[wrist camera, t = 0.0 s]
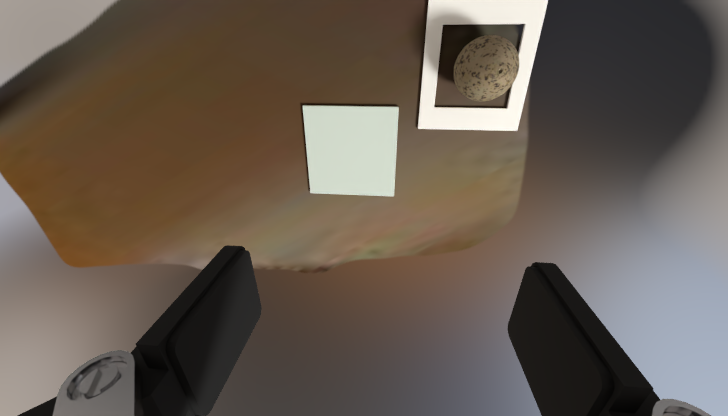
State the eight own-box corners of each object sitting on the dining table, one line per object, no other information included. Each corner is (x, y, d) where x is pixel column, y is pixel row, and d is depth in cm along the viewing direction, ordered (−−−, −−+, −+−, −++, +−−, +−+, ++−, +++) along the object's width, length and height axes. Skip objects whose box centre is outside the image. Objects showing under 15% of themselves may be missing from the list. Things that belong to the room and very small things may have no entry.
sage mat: (303, 105, 43) (302, 105, 43) (398, 106, 42) (398, 107, 42) (311, 191, 50) (310, 193, 49) (393, 194, 49) (393, 196, 48)
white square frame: (428, -4, 36) (429, -5, 36) (547, -6, 35) (549, -7, 34) (417, 128, 43) (417, 128, 43) (515, 130, 42) (517, 130, 42)
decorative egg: (515, 65, 38) (552, 67, 30) (472, 108, 41) (493, 121, 32) (479, 23, 37) (506, 12, 28) (437, 71, 40) (449, 75, 31)
